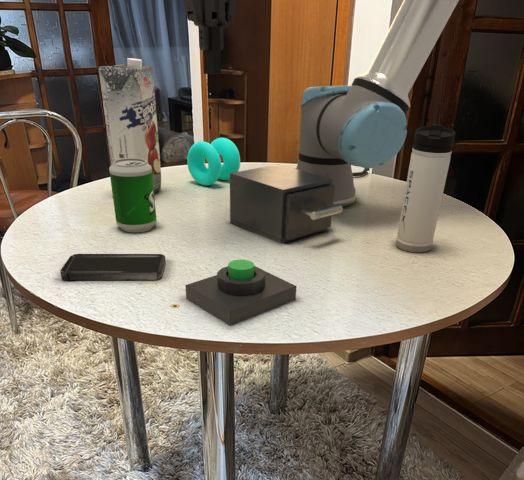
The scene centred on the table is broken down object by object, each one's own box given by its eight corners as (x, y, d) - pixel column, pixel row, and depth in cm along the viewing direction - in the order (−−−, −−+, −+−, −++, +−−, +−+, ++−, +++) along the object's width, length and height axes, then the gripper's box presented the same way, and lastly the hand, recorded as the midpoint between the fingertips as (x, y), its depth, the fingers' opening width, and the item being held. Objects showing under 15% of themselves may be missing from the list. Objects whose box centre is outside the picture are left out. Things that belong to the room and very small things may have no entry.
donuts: (242, 182, 128) (242, 139, 122) (215, 190, 121) (214, 145, 116) (213, 175, 133) (212, 134, 127) (185, 182, 126) (183, 139, 121)
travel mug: (432, 242, 94) (457, 125, 84) (430, 255, 89) (456, 132, 78) (397, 238, 96) (418, 122, 85) (393, 249, 91) (414, 128, 80)
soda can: (148, 235, 94) (141, 168, 87) (109, 231, 95) (100, 164, 88) (162, 222, 100) (157, 158, 93) (126, 219, 101) (119, 156, 95)
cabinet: (327, 229, 99) (332, 179, 94) (280, 243, 92) (283, 189, 87) (276, 211, 108) (278, 164, 103) (230, 222, 101) (229, 173, 96)
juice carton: (110, 198, 113) (91, 58, 99) (131, 186, 122) (116, 56, 107) (147, 202, 111) (133, 60, 97) (166, 189, 120) (156, 57, 106)
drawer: (347, 233, 95) (352, 190, 91) (304, 247, 88) (308, 201, 84) (282, 210, 106) (284, 171, 102) (239, 220, 99) (239, 179, 95)
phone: (71, 253, 82) (165, 253, 83) (73, 260, 83) (166, 260, 84) (58, 273, 76) (160, 273, 76) (59, 280, 76) (161, 280, 77)
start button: (242, 268, 73) (243, 257, 72) (259, 277, 71) (259, 265, 70) (222, 275, 71) (222, 263, 70) (239, 283, 69) (239, 271, 68)
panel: (250, 277, 79) (250, 252, 77) (295, 300, 73) (297, 274, 71) (186, 299, 72) (184, 273, 70) (230, 326, 66) (229, 298, 64)
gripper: (226, -108, 77) (228, 71, 89) (151, -124, 69) (165, 73, 82) (259, -116, 72) (257, 74, 85) (183, -134, 64) (193, 77, 77)
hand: (212, 73), depth 83 cm, fingers closed
